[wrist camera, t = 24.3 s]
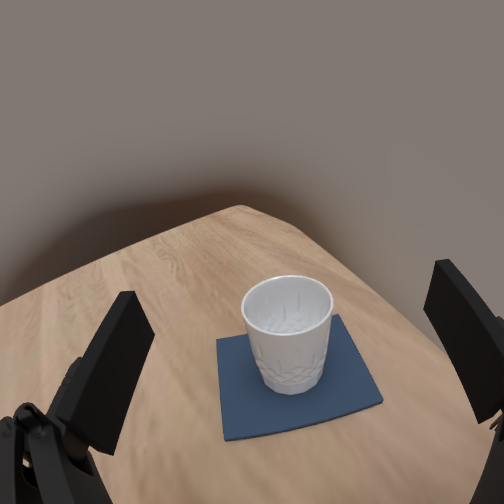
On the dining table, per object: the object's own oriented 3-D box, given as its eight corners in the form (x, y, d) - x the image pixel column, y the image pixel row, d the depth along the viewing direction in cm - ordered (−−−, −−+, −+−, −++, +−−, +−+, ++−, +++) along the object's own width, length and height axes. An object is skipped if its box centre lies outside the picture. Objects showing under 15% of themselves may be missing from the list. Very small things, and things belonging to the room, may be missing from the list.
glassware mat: (338, 317, 35) (338, 313, 35) (382, 402, 23) (383, 399, 23) (217, 342, 35) (216, 339, 34) (225, 441, 22) (224, 439, 22)
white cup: (259, 406, 25) (244, 343, 20) (252, 350, 32) (238, 282, 27) (336, 390, 25) (346, 323, 20) (317, 338, 32) (318, 268, 27)
